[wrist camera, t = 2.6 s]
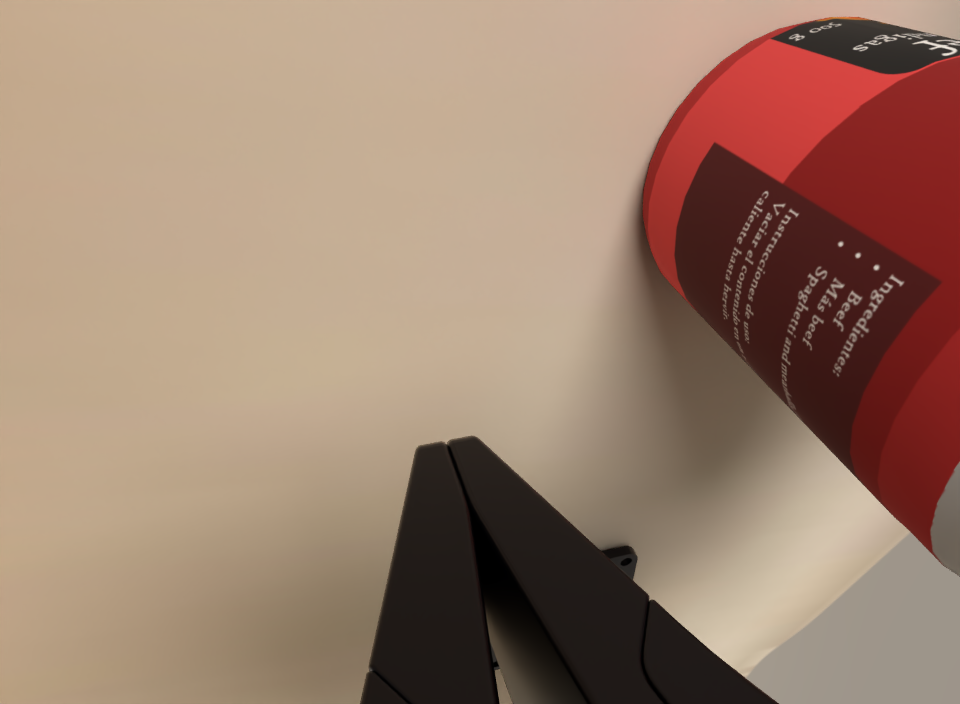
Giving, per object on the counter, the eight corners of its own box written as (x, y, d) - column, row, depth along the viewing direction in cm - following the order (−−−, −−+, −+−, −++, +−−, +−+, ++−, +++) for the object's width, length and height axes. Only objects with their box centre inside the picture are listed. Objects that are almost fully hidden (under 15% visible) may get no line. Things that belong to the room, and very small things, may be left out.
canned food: (940, 123, 18) (1523, 339, 10) (735, 329, 21) (1050, 637, 13) (809, -72, 14) (1603, 5, 6) (576, 213, 17) (880, 552, 9)
